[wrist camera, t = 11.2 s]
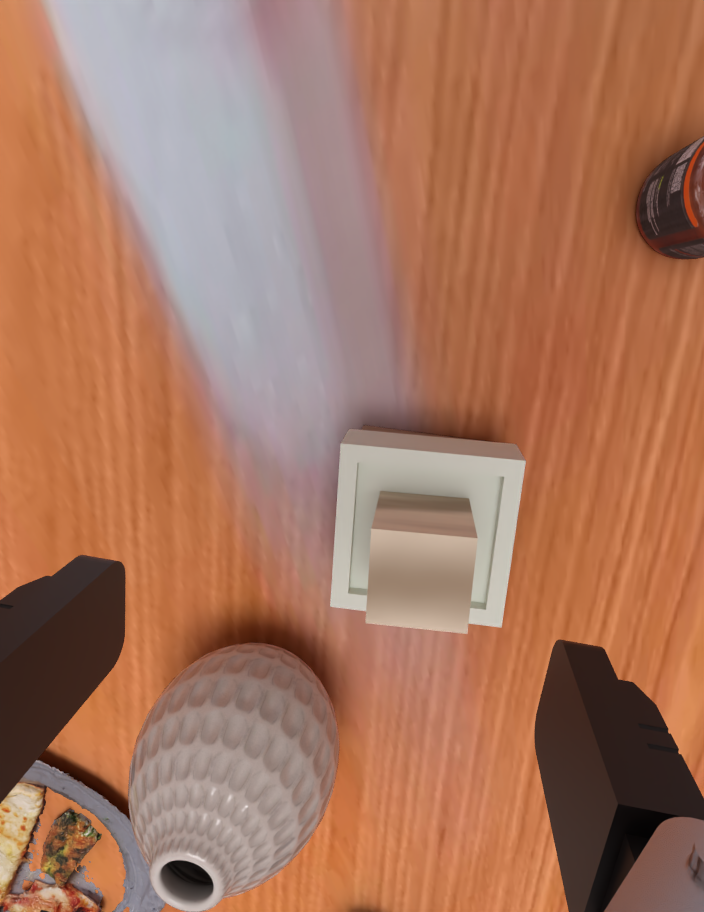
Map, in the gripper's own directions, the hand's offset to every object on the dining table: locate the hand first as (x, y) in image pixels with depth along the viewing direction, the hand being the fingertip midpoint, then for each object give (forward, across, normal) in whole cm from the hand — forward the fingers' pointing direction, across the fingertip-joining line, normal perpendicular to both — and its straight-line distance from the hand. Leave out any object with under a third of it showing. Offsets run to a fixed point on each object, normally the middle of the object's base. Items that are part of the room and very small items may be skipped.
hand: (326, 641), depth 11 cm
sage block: (+26, -2, +8) cm, 27 cm away
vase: (+30, +7, +24) cm, 39 cm away
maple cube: (+23, -2, +8) cm, 25 cm away
